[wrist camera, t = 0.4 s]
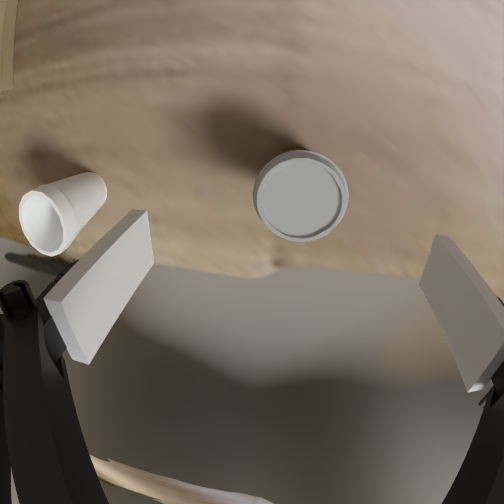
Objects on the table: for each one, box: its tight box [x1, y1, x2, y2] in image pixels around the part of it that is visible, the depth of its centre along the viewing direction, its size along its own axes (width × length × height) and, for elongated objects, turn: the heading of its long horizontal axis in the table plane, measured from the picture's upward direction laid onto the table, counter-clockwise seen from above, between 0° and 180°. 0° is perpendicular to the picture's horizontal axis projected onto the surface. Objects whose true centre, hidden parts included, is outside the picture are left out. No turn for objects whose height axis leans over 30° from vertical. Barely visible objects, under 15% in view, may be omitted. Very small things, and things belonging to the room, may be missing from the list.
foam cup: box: [19, 172, 107, 256], centre depth 37 cm, size 10×9×13 cm
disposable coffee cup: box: [253, 148, 349, 242], centre depth 33 cm, size 10×10×12 cm
